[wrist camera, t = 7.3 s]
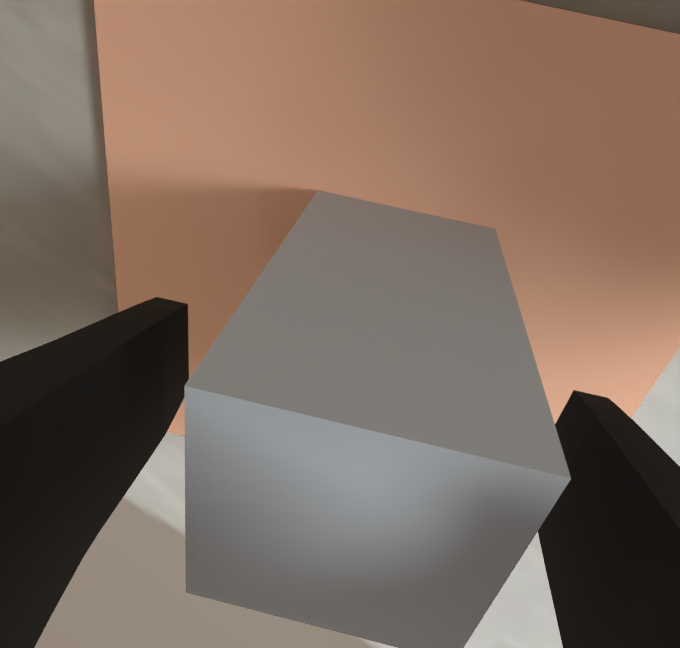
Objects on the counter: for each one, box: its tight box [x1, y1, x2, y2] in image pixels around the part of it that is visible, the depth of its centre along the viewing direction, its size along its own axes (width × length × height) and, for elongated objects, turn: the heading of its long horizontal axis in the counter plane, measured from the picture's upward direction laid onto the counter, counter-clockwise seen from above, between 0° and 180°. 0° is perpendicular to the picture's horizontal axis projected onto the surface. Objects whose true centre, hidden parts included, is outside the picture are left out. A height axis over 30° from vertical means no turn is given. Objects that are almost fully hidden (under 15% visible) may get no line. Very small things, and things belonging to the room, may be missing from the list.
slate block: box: [184, 190, 571, 648], centre depth 9 cm, size 4×4×7 cm
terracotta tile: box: [94, 0, 680, 436], centre depth 12 cm, size 14×13×1 cm
